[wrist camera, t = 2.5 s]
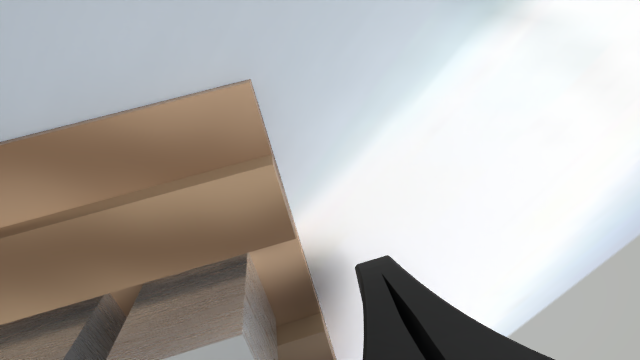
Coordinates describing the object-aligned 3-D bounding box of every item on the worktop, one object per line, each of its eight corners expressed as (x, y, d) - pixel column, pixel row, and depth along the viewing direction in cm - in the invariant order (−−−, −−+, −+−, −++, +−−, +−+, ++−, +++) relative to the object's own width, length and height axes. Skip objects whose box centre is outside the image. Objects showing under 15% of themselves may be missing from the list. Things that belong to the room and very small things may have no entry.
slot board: (338, 366, 17) (347, 403, 16) (50, 460, 16) (23, 511, 14) (250, 79, 11) (248, 85, 9) (-254, 206, 9) (-375, 243, 8)
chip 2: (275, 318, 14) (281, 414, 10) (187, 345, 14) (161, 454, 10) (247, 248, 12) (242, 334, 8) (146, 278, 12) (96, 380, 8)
